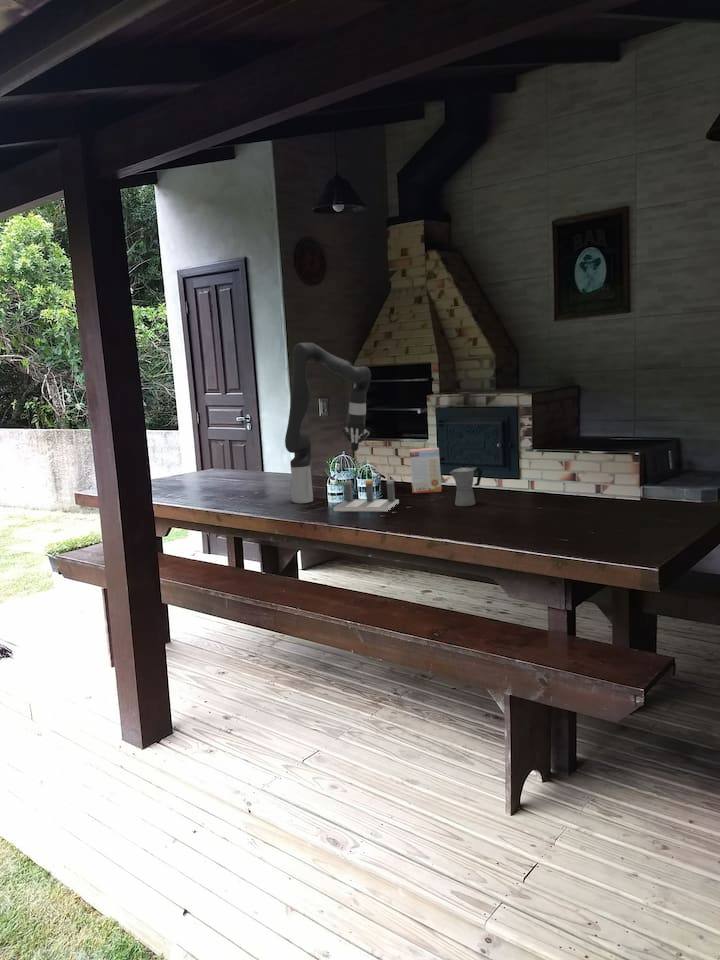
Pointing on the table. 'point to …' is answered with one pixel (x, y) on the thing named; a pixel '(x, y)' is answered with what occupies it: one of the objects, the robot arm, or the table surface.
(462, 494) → the coffeepot
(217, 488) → the table surface
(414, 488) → the cracker box
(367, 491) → the breaker
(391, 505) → the grey base with posts
